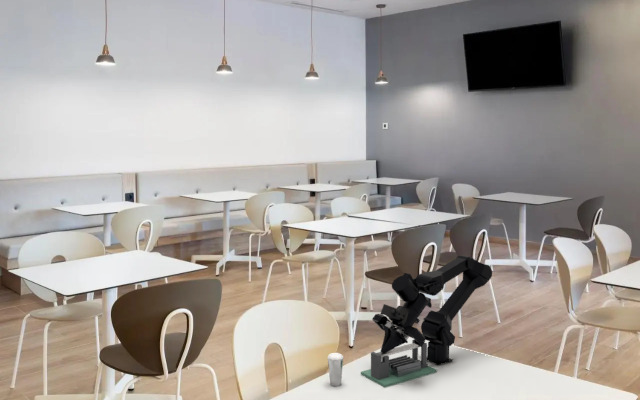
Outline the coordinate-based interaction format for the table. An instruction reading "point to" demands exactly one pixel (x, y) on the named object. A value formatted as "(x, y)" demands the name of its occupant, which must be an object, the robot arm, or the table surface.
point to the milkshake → (335, 368)
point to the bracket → (423, 355)
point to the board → (396, 380)
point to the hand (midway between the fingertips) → (382, 352)
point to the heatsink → (403, 366)
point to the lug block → (379, 366)
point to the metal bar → (398, 350)
